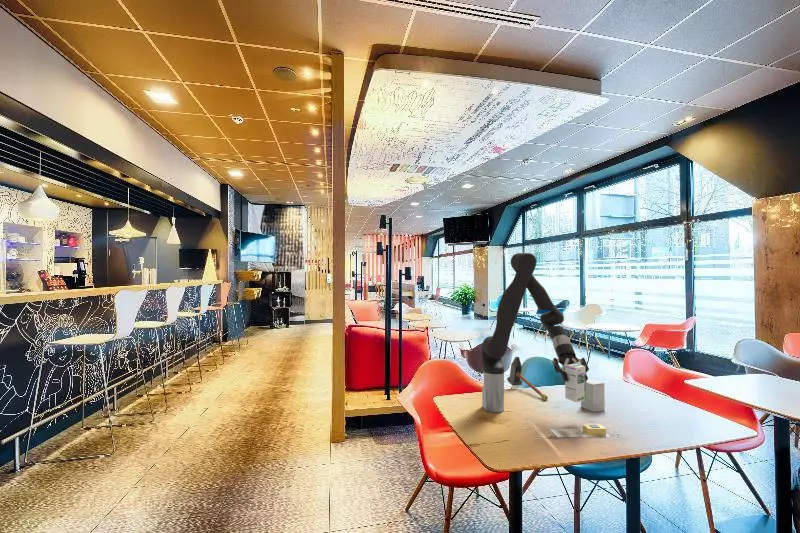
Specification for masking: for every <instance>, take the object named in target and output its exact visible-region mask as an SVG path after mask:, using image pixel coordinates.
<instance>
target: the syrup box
mask: <svg viewBox="0 0 800 533" xmlns="http://www.w3.org/2000/svg"><path fill="white" fill-rule="evenodd" d="M565 372H566V374H567V376H568V379H569V380H568V381H567V382H565V381H564V384H565V386H564V388H565V390H564V391H565V392H564V393H565V395H564V397H565V399H567V400H569V401H571V402H574V403H579V402H580V403H581V401H585V400H586V374H587V373H586V370H585V366H583V365H581V364H580V363H579V364H575V363H574V364H569V365H565Z"/></svg>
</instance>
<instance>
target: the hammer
mask: <svg viewBox="0 0 800 533" xmlns="http://www.w3.org/2000/svg"><path fill="white" fill-rule="evenodd" d="M510 364H511V365H510V372H509V376H507V377H506V381H507V382H508V383H509V384H510V385H511V386H514V387H515V386H523V385H522V384H523V382H524V383H525V384H526V385H527V386H528V387H529V388H531V389H532V390H533V391H534V392H535V393H537V395H539V396H540V398H541V399H542V400H543V401H547V400H548V398H549V396H547V395H546V394H544V393H543V392H542V391H540V390H539V389H538V388H537V387H536V386H535V385H533V384H532V382H530V381H529V380H528V379H526V377H524V376H523V375H522V374H521V373H522V368H523V366H522V363H521V358H520V356H515V357H514V359H513V360H512V363H510Z"/></svg>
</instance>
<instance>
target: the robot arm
mask: <svg viewBox="0 0 800 533" xmlns="http://www.w3.org/2000/svg"><path fill="white" fill-rule="evenodd" d="M510 266H511V268H512V270H514V272H515V275H514V276H513V277H514V278H513V280H512V281H511V283H510V284H509V285H508V286H507V288H506V289H504V292H503V294H502V295H501V297H500V300H499V302H498V306H497V310H496V325H495V329H494V332H493V334H492V336H490V335H489V336H486V337H485V338H484V340H483V341H482V344H481V362H482V366H483V386H482V389H481V392H482V393H481V395H482V396H481V397H482V398H481V399H482V400H481V401H482V402H481V405H482V408H483V409H484V411H485V412H491V413H502V412H504V411H505V366H504V364H503V361H502V358H503V357H504V356H505V355H506V352H507V351H508V350H507V349H508V345H509V341H510V337H511V332H512V330H513V327H514V325H515V322H516V318H517V316H518V313H519V310H520V307H521V305H522V302H523V299H524V296H525V293H526V290H527V291H528V292H529V294H530V296H531V297H532V300H533V301H534V303H535V305H536V307H537V309H538V310H539V311H547V312H544V313H541V315H540V317H539V320H540V323H541V324H542V326H543V327H544V328H545V329H546V331H547V332H548V334H549V337H550V339H551V342H552V346H553V349H554V351H555V354H556V356H557V357H553V359H552V360H551V361H552V365H553V368H554V371H555V373H557V374H558V373H559V374H560V375H561V378H562V379H563V381H564V383H565V382H567V381H568V380H569V379H568V376H567V374H566V372H565V365H569V364H574V363H575V364H580V365H583V366H585V370H586V381H587V380H588V379H589V377H588V375H587V373H588V371H589V370H590V368H589V366H588V363H587V361H586V358H585V357H582V358H578V357H577V356H576V352H575V349H574V347H573V345H572V342H571V340H570V339H569V337H568V335H567V332H566V329H565V328H564V327H563V326H561V325H559V324H562V323H563V322H564V321H565V316H564V314H563V312H562V311H561V310H560V309H559V308H558V307H557V306H556V305H555V304H554V303H553V301H552V299H551V298H550V295H549V294H548V292H547V290H546V289H545V288H544V286H543V285H542V284H541V283H540V282H539V280H537V278H536V277H535V276H534V274H533V273H534V272H535V270H536V266H537V258H536V256H535V255H534V254H533V253H531V252H517V253H515V254H513V255H512V256H511V258H510ZM560 365H562V366H561V367H560Z"/></svg>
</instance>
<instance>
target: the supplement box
mask: <svg viewBox="0 0 800 533" xmlns="http://www.w3.org/2000/svg"><path fill="white" fill-rule="evenodd" d="M605 401H606V399H605V382H602V381H600V380H595V379H593V378H588V379H587V381H586V400H585V401H580V407H581V408H584V409H586V410H588V411H590V412H593V413H595V412H601V411H602V412H603V411H605V409H606V408H605V407H606V406H605V404H606V402H605Z"/></svg>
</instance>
